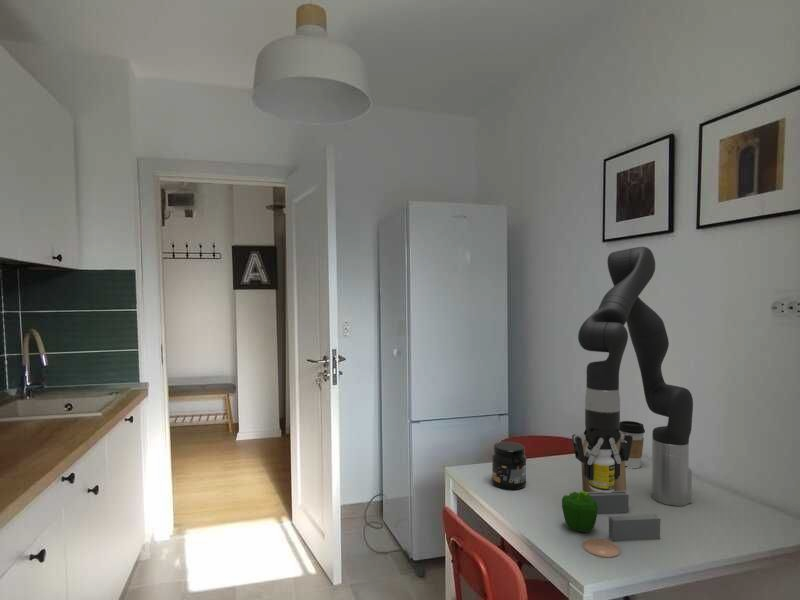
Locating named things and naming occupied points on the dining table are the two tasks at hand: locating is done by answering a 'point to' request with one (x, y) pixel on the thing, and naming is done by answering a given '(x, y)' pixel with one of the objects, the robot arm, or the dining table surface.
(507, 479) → the supplement container
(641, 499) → the dining table surface
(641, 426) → the coffee cup
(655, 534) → the rails
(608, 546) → the coaster
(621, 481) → the tan flat square panel
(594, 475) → the supplement bottle
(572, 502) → the bell pepper
